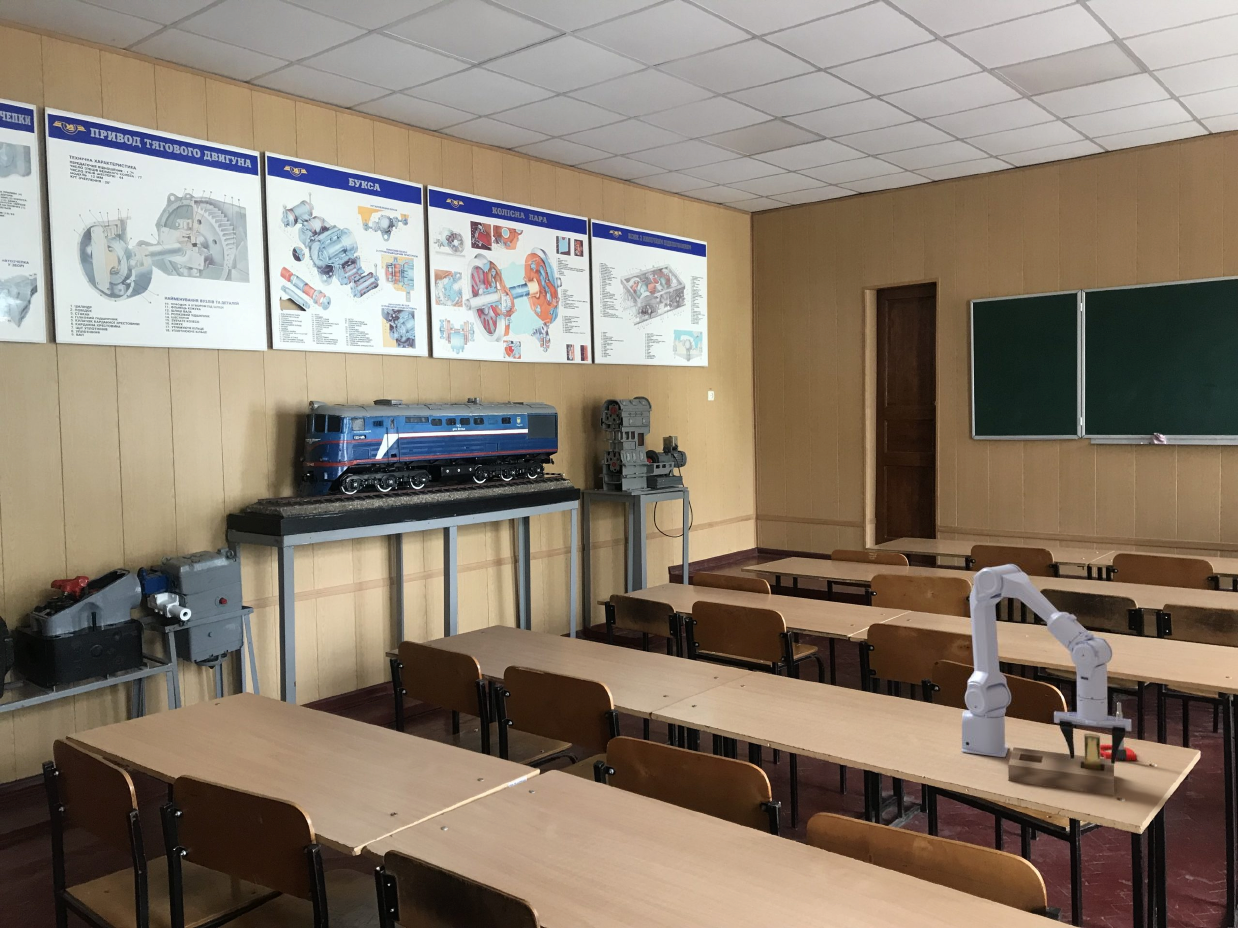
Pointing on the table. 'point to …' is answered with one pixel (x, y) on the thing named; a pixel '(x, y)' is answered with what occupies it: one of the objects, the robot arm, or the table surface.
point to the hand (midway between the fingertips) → (1092, 759)
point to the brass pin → (1092, 751)
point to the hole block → (1060, 771)
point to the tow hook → (1122, 751)
